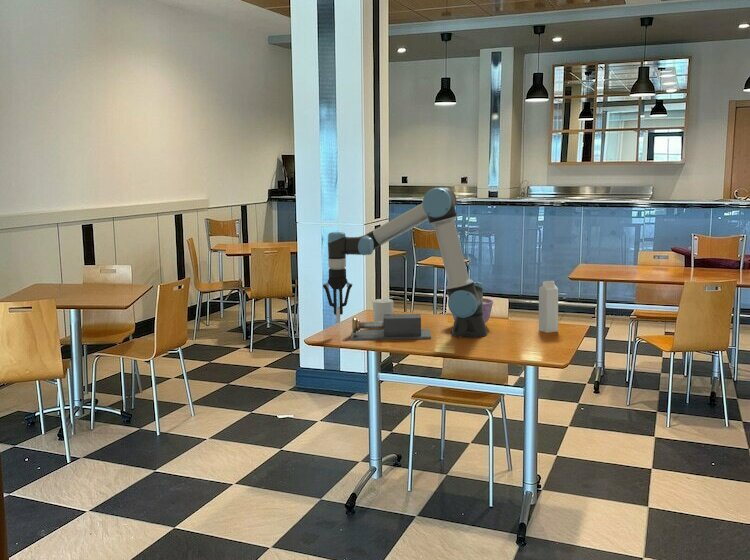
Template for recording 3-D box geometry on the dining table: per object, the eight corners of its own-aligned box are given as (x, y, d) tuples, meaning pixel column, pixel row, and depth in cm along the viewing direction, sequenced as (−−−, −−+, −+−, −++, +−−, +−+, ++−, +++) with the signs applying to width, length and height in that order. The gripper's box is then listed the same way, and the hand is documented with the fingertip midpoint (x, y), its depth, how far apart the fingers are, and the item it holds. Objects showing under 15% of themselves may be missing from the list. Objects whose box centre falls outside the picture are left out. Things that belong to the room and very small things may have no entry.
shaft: (352, 334, 315) (352, 319, 314) (353, 331, 322) (353, 316, 321) (402, 333, 315) (402, 318, 314) (402, 330, 321) (402, 315, 320)
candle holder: (394, 328, 334) (393, 302, 332) (372, 328, 334) (371, 302, 332) (393, 323, 343) (393, 298, 342) (373, 324, 344) (372, 299, 342)
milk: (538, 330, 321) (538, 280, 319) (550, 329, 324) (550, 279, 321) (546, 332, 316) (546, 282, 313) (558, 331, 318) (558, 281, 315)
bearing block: (350, 340, 311) (350, 320, 310) (353, 332, 327) (352, 313, 326) (430, 338, 310) (430, 319, 308) (429, 331, 325) (429, 312, 324)
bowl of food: (490, 321, 344) (490, 297, 342) (496, 330, 324) (496, 304, 322) (447, 322, 344) (447, 297, 343) (451, 331, 325) (450, 305, 323)
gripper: (352, 266, 319) (354, 320, 322) (323, 267, 319) (324, 320, 322) (351, 269, 311) (352, 323, 314) (321, 269, 312) (322, 323, 315)
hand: (338, 321), depth 318 cm, fingers closed
